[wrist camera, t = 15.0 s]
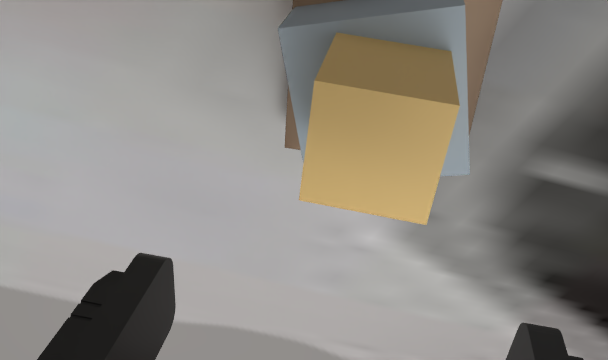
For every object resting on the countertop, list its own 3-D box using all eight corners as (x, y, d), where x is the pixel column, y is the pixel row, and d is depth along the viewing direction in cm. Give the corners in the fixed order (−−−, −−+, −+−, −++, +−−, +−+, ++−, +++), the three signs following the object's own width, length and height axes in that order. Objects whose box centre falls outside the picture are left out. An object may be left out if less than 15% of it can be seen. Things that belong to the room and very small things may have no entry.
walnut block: (297, 119, 36) (284, 147, 32) (308, -47, 30) (294, -34, 27) (455, 141, 34) (459, 173, 31) (495, -28, 29) (505, -12, 26)
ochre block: (321, 134, 27) (298, 200, 22) (336, 32, 24) (314, 80, 19) (425, 153, 26) (426, 224, 21) (451, 51, 24) (459, 105, 19)
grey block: (319, 148, 32) (307, 183, 29) (295, 6, 28) (277, 28, 25) (464, 138, 30) (469, 174, 27) (459, -16, 26) (465, 5, 23)
